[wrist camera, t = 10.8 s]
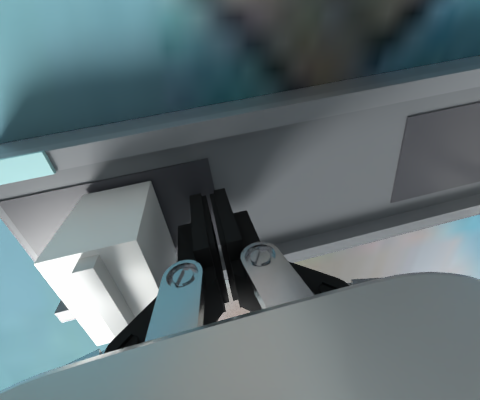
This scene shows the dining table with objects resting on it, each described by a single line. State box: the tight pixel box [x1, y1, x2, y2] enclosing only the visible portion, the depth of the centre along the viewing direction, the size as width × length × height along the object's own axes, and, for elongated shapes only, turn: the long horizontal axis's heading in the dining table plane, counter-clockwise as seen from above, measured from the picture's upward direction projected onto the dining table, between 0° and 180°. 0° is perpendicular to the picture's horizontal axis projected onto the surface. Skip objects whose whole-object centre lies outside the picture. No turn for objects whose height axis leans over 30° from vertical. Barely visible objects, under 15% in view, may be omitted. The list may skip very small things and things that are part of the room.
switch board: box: [0, 55, 480, 323], centre depth 14 cm, size 32×9×4 cm, turn 97°
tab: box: [34, 181, 177, 346], centre depth 10 cm, size 3×4×5 cm
